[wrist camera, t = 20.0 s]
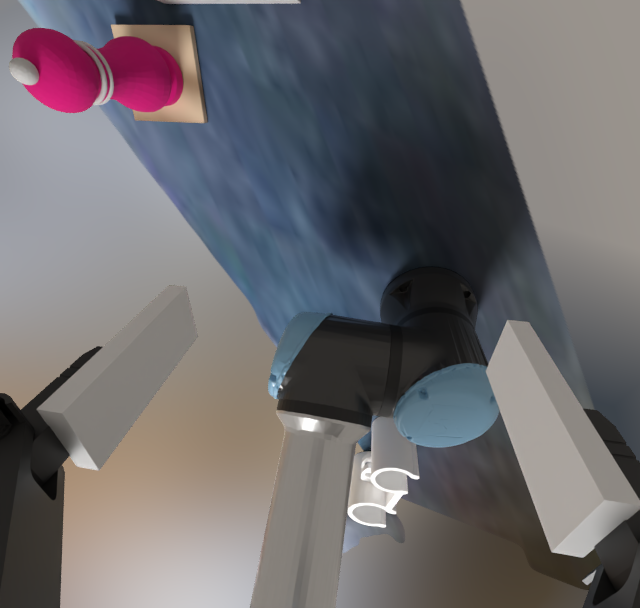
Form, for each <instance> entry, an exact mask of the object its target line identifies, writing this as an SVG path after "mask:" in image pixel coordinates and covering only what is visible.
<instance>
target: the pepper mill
mask: <svg viewBox="0 0 640 608" xmlns="http://www.w3.org/2000/svg"><path fill="white" fill-rule="evenodd" d="M12 57H13V59H12V60H11V61H10V63H9V70H10V72H11V74H12V75H13V77H14V78H15V79H16V80H18V81H19V82H21V83H22V84H23V85H24V86H25V88H26V89H27V90H28V91H29V92H30V93H31V94H32V95H33V96H34V97H35V98H36V99H37V100H39V101H40V102H41V103H43V104H44V105H46V106H48V107H50V108H52V109H55V110H57V111H61V112H66V113H77V112H82V111H85V110H87V109H88V108H90V107H91V106H92V105H102V104H105V103H106V102H108V101H109V100H110V99H114V100H117V101H118V102H120V103H121V104H123V105H124V106H126V107H128V108H130V109H133V110H135V111H139V112H155V111H158V110H160V109H161V108H163V107H164V106H170V105H173V104H174V103H176V102H177V101H178V100H179V98H180V96H181V94H182V90H183V78H182V73H181V70H180V68H179V65H178V64H177V62H176V60H175V59H174V58H173V57H172V55H171V54H170V53H168V52H167V51H166V50H164V49H163V48H161V47H158V46H153V45H151V44H150V43H148V42H147V41H145V40H143V39H140V38H138V37H133V36H120V37H117V38H115V39H112V40H110V41H109V42H108V43H107V44H106V45H105V46H104V47H103V48H100V49H96V48H94V47H93V46H92V45H90V44H88V43H86V42H83V41H76V40H72V39H71V38H69V37H68V36H66V35H64V34H62V33H60V32H58V31H55V30H52V29H45V28H33V29H29V30H26V31H25V32H23V33H21V34H20V35H19V36H18V37H17V39H16V41H15V43H14V46H13V55H12Z"/></svg>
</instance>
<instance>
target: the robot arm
mask: <svg viewBox="0 0 640 608" xmlns="http://www.w3.org/2000/svg"><path fill="white" fill-rule="evenodd" d="M477 313H478V306H477V300H476V297H475V295H474V293H473V290H472V288H471V286H470V285H469V284H468V282H467V281H466V280H465V279H464V278H463V277H461V276H460V275H458V274H457V273H455V272H453V271H451V270H448V269H444V268H439V267H423V268H417V269H414V270H411V271H408V272H406V273H404V274H402V275H400V276H399V277H397V278H396V279H395V280H393V281H392V282H391V283H390V284H389V286H388V287H387V288H386V290H385V291H384V293H383V296H382V299H381V303H380V317H381V322H382V323H380V322H373V321H367V320H361V319H354V318H348V317H342V316H337V315H333V314H331V313H327V314H322V313H312V312H302V313H299V314H297V315H296V316H295V317H294V318H293V319H292V320H291V321H290V322H289V324H288V326H287V327H286V329H285V331H284V333H283V335H282V337H281V340H280V342H279V345H278V347H277V350H276V353H275V356H274V360H273V363H272V367H271V372H272V373H271V375H270V378H269V383H268V390H269V393H270V395H271V396H273V397H274V398H275V399H279V401H278V406H277V411H276V414H277V415H278V417H279V419H280V420H281V422H282V423H283V425H284V428H285V434H284V439H283V444H282V449H281V454H280V459H279V464H278V469H277V474H276V480H275V484H274V489H273V494H272V499H271V505H270V509H269V514H268V519H267V524H266V529H265V535H264V540H263V544H262V549H261V554H260V559H259V565H258V569H257V574H256V579H255V584H254V589H253V594H252V599H251V604H250V608H335V605H336V597H337V590H338V581H339V573H340V565H341V558H342V550H343V542H344V534H345V526H346V518H347V510H348V502H349V495H350V487H351V479H352V471H353V463H354V455H355V447H356V443H357V442H358V440H359V439H361V438H362V437H363V436H364V435H366V434H367V433H368V432H369V431H370V430H371V422H372V416H373V415H376V416H382V417H387V418H392V419H394V423H395V426H396V427H397V429H398V431H399V433H400V434H401V435H402V436H403V437H406V438H407V440H409V441H410V442H412V443H415V444H418V445H421V446H426V447H450V446H455V445H459V444H463V443H465V442H467V441H469V440H472V439H475V438H477V437H479V436H480V435H482V434H483V433H484V432H486V431H487V430H488V429H489V428H490V427H491V426H492V425H493V423H494V422H495V420H496V419H497V416H498V414H499V410H500V412H501V415H502V417H503V420H504V423H505V426H506V428H507V431H508V434H509V437H510V439H511V442H512V445H513V448H514V450H515V453H516V456H517V458H518V461H519V464H520V467H521V469H522V472H523V475H524V478H525V480H526V483H527V486H528V489H529V491H530V494H531V497H532V500H533V502H534V505H535V508H536V511H537V513H538V516H539V519H540V521H541V524H542V527H543V530H544V532H545V535H546V538H547V541H548V543H549V546H550V549H551V552H554V553H560V554H565V555H571V556H577V557H582V558H583V557H585V556H586V555H587V554H588V553H589V552H590V551H592V550H593V549H594V548H595V549H596V552H597V554H598V556H599V558H600V560H601V562H602V564H601V565H599V566H598V567H597V568H596V569H594V570H593V571H592V572H590V573H589V574H588V575H587V576H586V577H585V578H584V579H583V580H582V581H583V582H584V583H585V584H587V585H588V584H589V583H590V582H592V583H591V586H590V589H589V592H588V595H587V597H586V600H585V603H584V605H583V608H640V462H639V461H637V460H636V456H635V455H634V453H633V452H632V450H631V449H630V448H629V446H626V442H625V440H624V439H623V437H622V436H621V435H620V433H619V432H618V430H617V429H616V427H615V426H614V425H613V424H612V423H611V422H610V421H609V420H607V419H606V418H605V417H604V416H603V415H602V414H601V413H600V412H599V411H597V410H590V409H583V408H582V407H581V405H580V404H579V402H578V400H577V399H576V397H575V396H574V394H573V392H572V391H571V389H570V388H569V386H568V384H567V383H566V381H565V380H564V378H563V376H562V375H561V373H560V372H559V370H558V368H557V367H556V365H555V364H554V362H553V360H552V359H551V357H550V356H549V354H548V352H547V351H546V349H545V348H544V346H543V344H542V343H541V341H540V339H539V338H538V336H537V335H536V333H535V331H534V330H533V328H532V327H531V325H530V323H529V322H522V321H513V320H507V322H506V325H505V327H504V329H503V332H502V334H501V336H500V339H499V341H498V344H497V346H496V348H495V351H494V353H493V355H492V358H491V360H490V362H489V365H488V362H487V360H486V357H485V354H484V352H483V349H482V347H481V344H480V342H479V339H478V337H477V334H476V332H475V325H476V319H477ZM197 337H198V335H197V330H196V326H195V322H194V318H193V314H192V309H191V306H190V301H189V297H188V293H187V289H186V287H184V286H174V285H169V286H168V287H167V288H166V289H165V290H164V291H163V292H161V294H159V295H158V296H157V297H156V298H155V299H154V300H153V301H152V302H151V303H150V304H149V305H148V306H146V307H145V308H144V309H143V310H142V311H141V312H140V313H139V314H138V315H137V316H136V317H135V318H134V319H133V320H131V321H130V322H129V323H128V324H127V325H126V326H125V327H124V328H123V329H122V330H121V331H120V332H119V333H118V334H116V335H115V336H114V337H113V338H112V339H111V340H110V341H109V342H108V343H107V344H106V345H105V346H104V347H99V346H98V347H96V348H94V349H92V350H90V351H89V352H87V353H85V354H83V355H82V356H81V357H79V358H78V359H77V360H76V361H75V362H74V363H73V364H72V365H71V366H70V368H67V369H66V370H65V371H64V372H63V373H62V374H60V377H57V378H56V379H55V380H54V381H53V382H52V383H50V384H49V385H48V386H47V387H46V388H45V389H44V390H43V391H41V392H40V394H38V395H37V396H36V397H35V398H34V399H33V400H31V401H30V402H29V403H28V404H27V405H26V406H25V407H24V408H23V409H21V410H20V409H19V408H18V406H17V405H16V404H15V402H14V401H13V400H12V398H11V397H10V396H8V395H7V394H5V393H0V608H60V591H61V589H60V588H61V563H62V535H63V506H64V479H65V472H64V468H63V466H62V464H63V463H64V461H65V460H66V459H67V458H68V457H69V456H70V457H71V459H72V460H73V462H74V463H75V464H76V466H77V467H82V468H88V469H93V470H100V469H101V467H102V466H103V465H104V463H105V462H106V461H107V459H108V458H109V457H110V455H111V454H112V452H113V451H114V450H115V448H116V447H117V446H118V444H119V443H120V442H121V440H122V439H123V438H124V436H125V435H126V433H127V432H128V431H129V429H130V428H131V427H132V425H133V424H134V422H135V421H136V420H137V418H138V417H139V416H140V414H141V413H142V412H143V410H144V409H145V408H146V406H147V405H148V404H149V402H150V401H151V400H152V398H153V397H154V395H155V394H156V393H157V391H158V390H159V389H160V387H161V386H162V384H163V383H164V382H165V380H166V379H167V378H168V376H169V375H170V374H171V372H172V371H173V370H174V368H175V367H176V366H177V364H178V363H179V361H180V360H181V359H182V357H183V356H184V354H185V353H186V352H187V351H188V349H189V348H190V347H191V345H192V344H193V342H194V341H195V340H196V338H197Z"/></svg>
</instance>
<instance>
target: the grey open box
mask: <svg viewBox="0 0 640 608" xmlns="http://www.w3.org/2000/svg"><path fill="white" fill-rule="evenodd" d="M157 1H159V2H162V3H165V4H263V3H301V0H157Z"/></svg>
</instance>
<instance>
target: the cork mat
mask: <svg viewBox="0 0 640 608" xmlns="http://www.w3.org/2000/svg"><path fill="white" fill-rule="evenodd" d="M111 28H112V31H113V35H114V39H115V38H117V37H120V36H133V37H138V38H140V39H143V40H145V41H147V42H148V43H150V44H151V45H153V46H158V47H161V48H163V49H164V50H166V51H167V52H168V53H170V54H171V55H172V57H173V58H174V59H175V60H176V62H177V64H178V65H179V68H180V70H181V73H182V78H183V90H182V94H181V96H180V98H179V100H178V101H177V102H176V103H174V104H173V105H170V106H164V107H163V108H161V109H160V110H158V111H155V112H139V111H135V110H133V113H134V117H135V120H141V121H166V122H190V123H207V122H208V121H207V114H206V108H205V101H204V94H203V88H202V81H201V74H200V67H199V61H198V54H197V47H196V41H195V34H194V27H193V26H191V25H111Z"/></svg>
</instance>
